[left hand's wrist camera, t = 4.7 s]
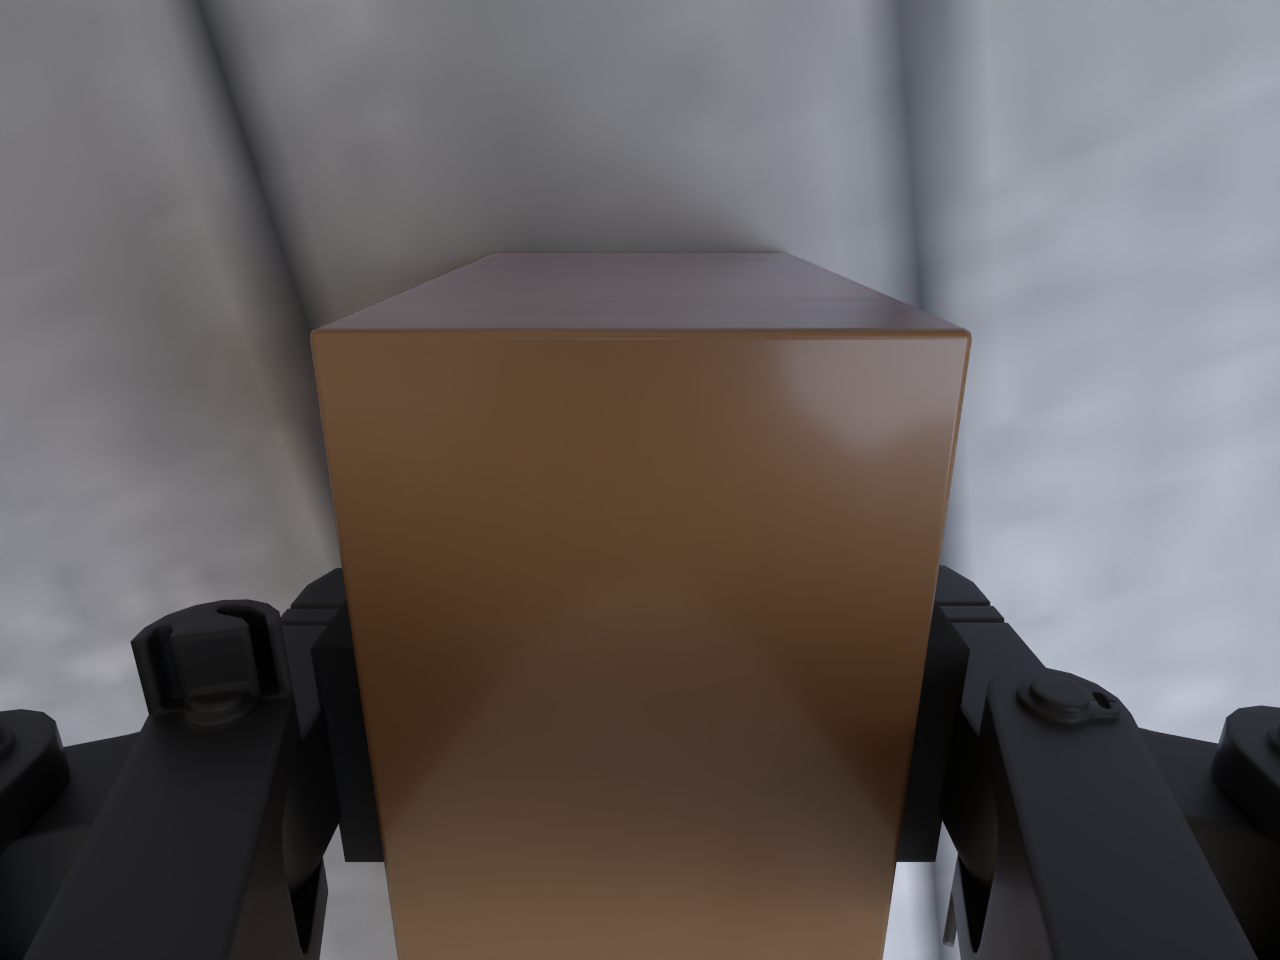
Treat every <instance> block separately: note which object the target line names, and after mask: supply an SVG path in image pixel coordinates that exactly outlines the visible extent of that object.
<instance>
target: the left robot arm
mask: <svg viewBox="0 0 1280 960" xmlns="http://www.w3.org/2000/svg"><path fill="white" fill-rule="evenodd" d="M131 645H132V649H133V653H134V657H135V661H136V665H137V669H138V673H139V677H140V681H141V685H142V689H143V693H144V697H145V701H146V704H147V708H148V712H149V716H148V718H147V720H146V722H145V724H144V726H143V728H142V729H141V731H140V732H137V733H133V734H129V735H124V736H119V737H114V738H109V739H103V740H98V741H93V742H88V743H83V744H77V745H72V746H67V747H63V745H62V741H61V738H60V735H59V731H58V728H57V725H56V721H55V720H53V719H52V718H51V717H49V716H48V715H47V714H45V713H44V712H39V711H31V710H23V709H19V710H10V711H1V712H0V960H319V958H320V950H321V943H322V935H323V927H324V920H325V912H326V904H327V896H328V887H327V879H326V873H325V867H324V861H323V855H324V853H325V851H326V849H327V847H328V845H329V842H330V840H331V838H332V836H333V834H334V832H335V830H336V828H337V826H338V823H339V826H340V833H341V839H342V845H343V851H344V857H345V862H384V857H383V850H382V843H381V836H380V829H379V822H378V815H377V808H376V801H375V794H374V787H373V780H372V773H371V766H370V759H369V752H368V745H367V738H366V731H365V724H364V717H363V710H362V703H361V696H360V689H359V682H358V675H357V668H356V661H355V654H354V647H353V640H352V633H351V626H350V619H349V612H348V605H347V598H346V591H345V584H344V577H343V569H342V568H336V569H334V570H332V571H331V572H329V573H327V574H326V575H324V576H322V577H321V578H319V579H317V580H315V581H314V582H312V583H310V584H309V585H307V586H306V588H305V589H304V590H303V591H302V592H301V594H300V595H299V596H298V597H297V598H296V599H295V601H294V602H293V603H292V604H291V609H287V610H286V611H285V613H284V614H283V615H282V616H281V617H280V613H279V611H278V610H276V609H275V608H273V607H272V606H271V605H269V604H268V603H263V602H258V601H253V600H221V601H216V602H211V603H205V604H200V605H195V606H192V607H189V608H186V609H183V610H180V611H177V612H175V613H172V614H169V615H167V616H165V617H163V618H161V619H159V620H158V621H156V622H154V623H152V624H150V625H149V626H147V627H145V628H144V629H143V630H142V631H141V632H140V633H139V634H138V635H137V636H136V637H135V638H134V639H133V640H132V641H131ZM942 820H943V822H944V825H945V827H946V829H947V831H948V833H949V835H950V837H951V839H952V841H953V843H954V845H955V848H956V850H957V852H958V856H957V861H956V867H955V873H954V878H953V884H952V890H951V895H950V901H949V907H948V912H947V918H946V924H945V930H944V937H943V944H944V945H948V946H954V941H955V935H956V930H957V933H958V941H959V948H960V956H961V960H1280V708H1278V707H1269V706H1254V707H1246V708H1239V709H1237V710H1236V711H1234V712H1233V713H1232V714H1230V715H1229V716H1228V717H1226V721H1225V724H1224V727H1223V730H1222V734H1221V737H1220V740H1219V744H1217V743H1212V742H1206V741H1201V740H1196V739H1191V738H1186V737H1180V736H1175V735H1170V734H1165V733H1159V732H1154V731H1150V730H1146V729H1142V728H1138V726H1137V724H1136V722H1135V720H1134V718H1133V716H1132V714H1131V713H1130V712H1129V711H1128V709H1127V708H1126V707H1125V706H1124V705H1123V704H1122V702H1121V701H1120V700H1119V699H1118V698H1117V697H1116V696H1114V695H1113V694H1111V693H1110V692H1108V691H1106V690H1105V689H1103V688H1102V687H1100V686H1099V685H1097V684H1095V683H1093V682H1091V681H1088V680H1086V679H1083V678H1081V677H1078V676H1076V675H1073V674H1071V673H1067V672H1062V671H1058V670H1053V669H1049V668H1046V667H1045V666H1044V665H1043V664H1042V663H1041V662H1040V660H1039V659H1038V658H1037V657H1036V656H1035V654H1034V653H1033V652H1032V651H1031V650H1030V649H1029V647H1028V646H1027V645H1026V644H1025V643H1024V641H1023V640H1022V639H1021V638H1020V637H1019V636H1018V634H1017V633H1016V632H1015V631H1014V630H1013V628H1012V627H1011V626H1010V625H1009V624H1008V623H1004V618H1003V617H1002V616H1001V614H1000V613H999V612H998V611H997V610H996V608H995V607H994V606H990V601H989V600H988V599H987V598H986V597H985V595H984V594H983V593H982V592H981V591H980V590H979V588H978V587H977V586H976V585H975V584H974V582H972V581H970V580H968V579H967V578H965V577H963V576H962V575H960V574H958V573H956V572H955V571H953V570H951V569H950V568H948V567H946V566H939V570H938V577H937V584H936V591H935V598H934V604H933V611H932V618H931V625H930V632H929V639H928V646H927V653H926V660H925V667H924V674H923V681H922V688H921V695H920V702H919V709H918V716H917V723H916V730H915V737H914V744H913V751H912V758H911V764H910V771H909V778H908V785H907V792H906V799H905V806H904V813H903V820H902V827H901V834H900V841H899V848H898V855H897V862H935V860H936V854H937V848H938V842H939V836H940V830H941V824H942Z"/></svg>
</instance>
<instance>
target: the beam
mask: <svg viewBox="0 0 1280 960" xmlns="http://www.w3.org/2000/svg"><path fill="white" fill-rule="evenodd" d="M971 340H972V338H971V333H970V331H968V330H966V329H964V328H961V327H959V326H957V325H954V324H952V323H950V322H947V321H945V320H943V319H940V318H938V317H936V316H933V315H931V314H929V313H926V312H924V311H922V310H919V309H917V308H915V307H912V306H910V305H908V304H905V303H903V302H901V301H898V300H896V299H894V298H891V297H889V296H887V295H884V294H882V293H880V292H877V291H875V290H873V289H870V288H868V287H866V286H863V285H861V284H859V283H856V282H854V281H852V280H849V279H847V278H845V277H842V276H840V275H838V274H835V273H833V272H831V271H828V270H826V269H824V268H821V267H819V266H817V265H814V264H812V263H810V262H807V261H805V260H803V259H800V258H798V257H796V256H793V255H791V254H789V253H786V252H494V253H492V254H490V255H487V256H485V257H483V258H480V259H478V260H476V261H473V262H471V263H469V264H466V265H464V266H462V267H459V268H457V269H455V270H452V271H450V272H448V273H445V274H443V275H441V276H438V277H436V278H434V279H431V280H429V281H427V282H424V283H422V284H420V285H417V286H415V287H413V288H410V289H408V290H406V291H403V292H401V293H399V294H396V295H394V296H392V297H389V298H387V299H385V300H382V301H380V302H378V303H375V304H373V305H371V306H368V307H366V308H364V309H361V310H359V311H357V312H354V313H352V314H350V315H347V316H345V317H343V318H340V319H338V320H336V321H333V322H331V323H329V324H326V325H324V326H322V327H319V328H317V329H315V330H313V331H311V334H310V345H311V352H312V359H313V366H314V373H315V380H316V387H317V394H318V401H319V408H320V415H321V422H322V429H323V436H324V443H325V450H326V457H327V464H328V471H329V478H330V485H331V492H332V499H333V506H334V513H335V520H336V527H337V534H338V541H339V548H340V555H341V562H342V569H343V577H344V584H345V591H346V598H347V605H348V612H349V619H350V626H351V633H352V640H353V647H354V654H355V661H356V668H357V675H358V682H359V689H360V696H361V703H362V710H363V717H364V724H365V731H366V738H367V745H368V752H369V759H370V766H371V773H372V780H373V787H374V794H375V801H376V808H377V815H378V822H379V829H380V836H381V843H382V850H383V857H384V864H385V871H386V878H387V885H388V892H389V899H390V906H391V913H392V920H393V927H394V934H395V941H396V948H397V955H398V960H882V959H883V952H884V945H885V938H886V931H887V925H888V918H889V911H890V904H891V897H892V890H893V883H894V876H895V869H896V862H897V855H898V848H899V841H900V834H901V827H902V820H903V813H904V806H905V799H906V792H907V785H908V778H909V771H910V764H911V758H912V751H913V744H914V737H915V730H916V723H917V716H918V709H919V702H920V695H921V688H922V681H923V674H924V667H925V660H926V653H927V646H928V639H929V632H930V625H931V618H932V611H933V604H934V598H935V591H936V584H937V577H938V570H939V563H940V556H941V549H942V542H943V535H944V528H945V521H946V514H947V507H948V500H949V493H950V486H951V479H952V472H953V465H954V458H955V451H956V444H957V437H958V431H959V424H960V417H961V410H962V403H963V396H964V389H965V382H966V375H967V368H968V361H969V354H970V347H971Z"/></svg>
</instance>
